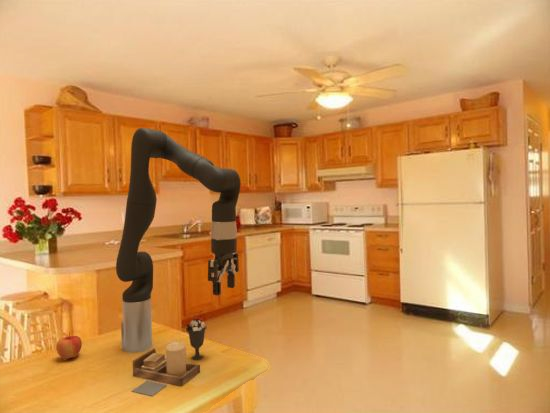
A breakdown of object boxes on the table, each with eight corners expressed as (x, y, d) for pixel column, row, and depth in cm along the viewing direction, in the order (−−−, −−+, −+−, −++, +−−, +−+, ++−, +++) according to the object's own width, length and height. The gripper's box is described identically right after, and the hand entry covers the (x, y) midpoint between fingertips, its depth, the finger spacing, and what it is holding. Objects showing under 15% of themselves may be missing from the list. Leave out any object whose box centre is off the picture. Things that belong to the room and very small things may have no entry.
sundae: (210, 354, 125) (209, 309, 125) (204, 363, 119) (203, 316, 118) (190, 354, 126) (189, 309, 125) (184, 363, 119) (182, 315, 119)
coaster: (131, 393, 102) (131, 390, 102) (147, 382, 107) (147, 380, 107) (152, 397, 99) (152, 395, 99) (167, 387, 105) (167, 384, 105)
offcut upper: (143, 366, 111) (143, 360, 111) (153, 358, 116) (153, 353, 116) (155, 367, 110) (155, 361, 110) (164, 360, 115) (164, 354, 115)
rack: (133, 377, 111) (132, 360, 110) (154, 364, 119) (153, 348, 119) (181, 387, 104) (180, 369, 104) (200, 373, 112) (199, 356, 112)
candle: (190, 372, 112) (189, 339, 111) (179, 381, 107) (178, 346, 106) (173, 370, 114) (173, 337, 113) (162, 379, 108) (161, 344, 108)
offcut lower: (141, 374, 111) (141, 366, 111) (155, 365, 117) (155, 358, 117) (153, 377, 110) (153, 369, 110) (167, 368, 115) (166, 360, 115)
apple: (55, 364, 120) (54, 339, 120) (58, 355, 127) (57, 332, 126) (81, 360, 123) (80, 335, 123) (82, 351, 130) (81, 328, 129)
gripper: (224, 233, 120) (224, 284, 120) (199, 238, 106) (200, 296, 107) (246, 234, 117) (246, 286, 118) (223, 240, 104) (223, 299, 104)
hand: (224, 291), depth 112 cm, fingers open, 8 cm apart
